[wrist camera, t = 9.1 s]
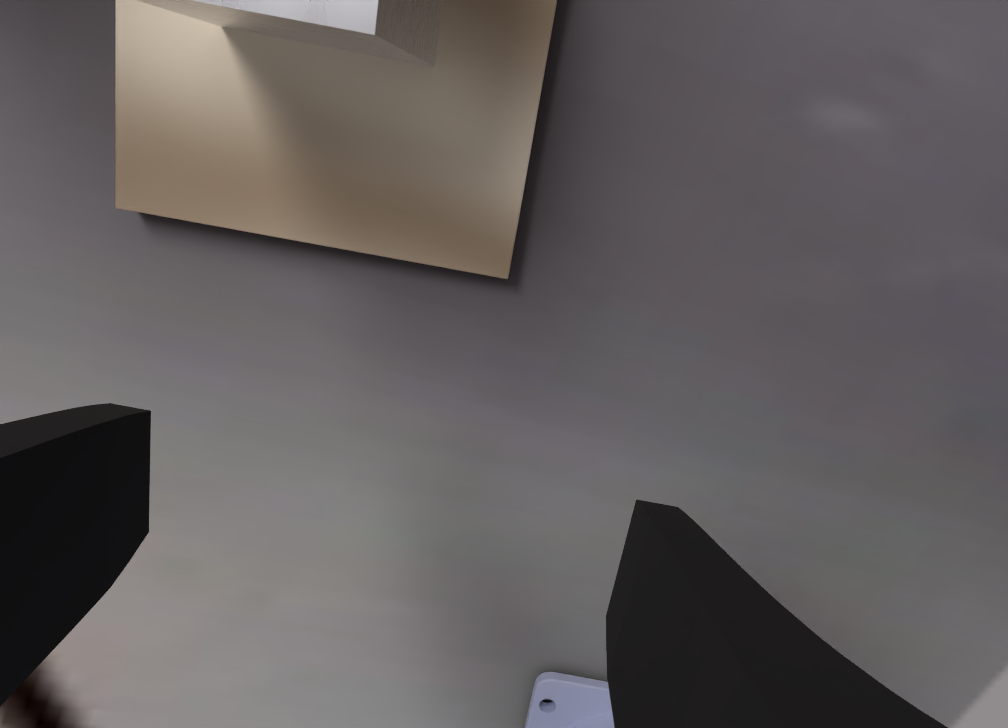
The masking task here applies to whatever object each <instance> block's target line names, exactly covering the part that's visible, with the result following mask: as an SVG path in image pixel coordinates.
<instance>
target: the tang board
mask: <svg viewBox="0 0 1008 728" xmlns="http://www.w3.org/2000/svg"><path fill="white" fill-rule="evenodd" d="M556 6H557V0H443V6H442V13H441V21H440V28H439V35H438V42H437V50H436V57H435V64H434V67H432V66H427V65H422V64H416V63H411V62H406V61H400V60H395V59H390V58H385V57H379V56H374V55H369V54H363V53H358V52H353V51H347V50H342V49H337V48H331V47H326V46H321V45H315V44H310V43H305V42H300V41H294V40H289V39H284V38H278V37H273V36H268V35H262V34H257V33H252V32H246V31H241V30H236V29H230V28H225V27H220V26H217V25H214V24H211V23H207V22H204V21H201V20H198V19H195V18H191V17H188V16H185V15H182V14H178V13H175V12H172V11H169V10H166V9H162V8H159V7H156V6H153V5H149V4H146V3H143V2H140V1H137V0H116V208H119V209H125V210H130V211H136V212H141V213H147V214H152V215H158V216H163V217H169V218H174V219H180V220H185V221H191V222H196V223H202V224H207V225H213V226H218V227H224V228H229V229H235V230H240V231H246V232H251V233H257V234H262V235H268V236H273V237H279V238H284V239H290V240H295V241H301V242H306V243H312V244H317V245H323V246H328V247H334V248H339V249H345V250H350V251H356V252H361V253H367V254H372V255H378V256H383V257H389V258H394V259H400V260H405V261H411V262H416V263H422V264H427V265H433V266H438V267H444V268H449V269H455V270H460V271H466V272H471V273H477V274H482V275H488V276H493V277H499V278H504V279H508V276H509V272H510V267H511V261H512V255H513V250H514V244H515V238H516V233H517V227H518V221H519V216H520V210H521V204H522V199H523V193H524V187H525V182H526V176H527V170H528V165H529V159H530V153H531V148H532V142H533V136H534V131H535V125H536V119H537V114H538V108H539V102H540V97H541V91H542V85H543V80H544V74H545V68H546V63H547V57H548V51H549V46H550V40H551V34H552V29H553V23H554V17H555V12H556Z"/></svg>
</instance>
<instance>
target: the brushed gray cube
mask: <svg viewBox="0 0 1008 728" xmlns="http://www.w3.org/2000/svg"><path fill="white" fill-rule="evenodd" d="M137 1H140V2H143V3H146V4H149V5H153V6H156V7H159V8H162V9H166V10H169V11H172V12H175V13H178V14H182V15H185V16H188V17H191V18H195V19H198V20H201V21H204V22H207V23H211V24H214V25H217V26H220V27H225V28H230V29H236V30H241V31H246V32H252V33H257V34H262V35H268V36H273V37H278V38H284V39H289V40H294V41H300V42H305V43H310V44H315V45H321V46H326V47H331V48H337V49H342V50H347V51H353V52H358V53H363V54H369V55H374V56H379V57H385V58H390V59H395V60H400V61H406V62H411V63H416V64H422V65H427V66H432V67H434V64H435V57H436V50H437V42H438V35H439V28H440V21H441V13H442V6H443V0H137Z"/></svg>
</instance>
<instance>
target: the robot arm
mask: <svg viewBox="0 0 1008 728" xmlns="http://www.w3.org/2000/svg"><path fill="white" fill-rule="evenodd" d="M150 427H151V411H149V410H143V409H138V408H132V407H127V406H121V405H116V404H111V403H109V404H98V405H90V406H84V407H78V408H72V409H67V410H62V411H58V412H53V413H48V414H44V415H39V416H35V417H30V418H26V419H22V420H17V421H13V422H9V423H4V424H0V706H1V705H2V704H3V703H4V702H5V701H6V700H7V698H8V697H9V696H10V695H11V694H12V693H13V692H14V691H15V690H16V689H17V688H18V687H19V686H20V685H21V684H22V682H23V681H24V680H25V679H26V678H27V677H28V676H29V675H30V674H31V673H32V672H33V671H34V670H35V669H36V668H37V666H38V665H39V664H40V663H41V662H42V661H43V660H44V659H45V658H46V657H47V656H48V655H49V654H50V653H51V652H52V650H53V649H54V648H55V647H56V646H57V645H58V644H59V643H60V642H61V641H62V640H63V639H64V638H65V637H66V636H67V634H68V633H69V632H70V631H71V630H72V629H73V628H74V627H75V626H76V625H77V624H78V623H79V621H80V620H81V619H82V618H83V617H84V616H85V615H86V614H87V613H88V612H89V611H90V609H91V608H92V607H93V606H94V605H95V604H96V603H97V602H98V601H99V600H100V598H101V597H102V596H103V595H104V594H105V593H106V592H107V591H108V589H109V588H110V587H111V586H112V584H113V583H114V582H115V580H116V579H117V578H118V576H119V575H120V573H121V572H122V571H123V569H124V568H125V567H126V565H127V564H128V562H129V561H130V559H131V558H132V556H133V555H134V553H135V552H136V550H137V549H138V547H139V546H140V544H141V543H142V541H143V540H144V538H145V537H146V535H147V534H148V532H149V485H150ZM606 650H607V679H608V682H606V681H600V680H595V679H589V678H584V677H578V676H573V675H568V674H562V673H557V672H545V673H542V674H540V675H539V676H538V677H537V678H536V680H535V683H534V687H533V692H532V696H531V700H530V705H529V709H528V713H527V718H526V722H525V726H524V728H947V727H946V726H944V725H943V724H941V723H940V722H938V721H936V720H935V719H933V718H932V717H930V716H928V715H927V714H925V713H924V712H922V711H920V710H919V709H917V708H916V707H914V706H913V705H911V704H910V703H908V702H907V701H905V700H904V699H902V698H901V697H900V696H898V695H897V694H895V693H894V692H892V691H891V690H889V689H888V688H886V687H885V686H884V685H882V684H881V683H879V682H878V681H877V680H875V679H874V678H873V677H871V676H870V675H869V674H867V673H866V672H865V671H863V670H862V669H860V668H859V667H858V666H856V665H855V664H854V663H852V662H851V661H850V660H848V659H847V658H845V657H844V656H843V655H841V654H840V653H839V652H837V651H836V650H835V649H834V648H832V647H831V646H830V645H829V644H827V643H826V642H825V641H824V640H822V639H821V638H820V637H819V636H817V635H816V634H815V633H814V632H813V631H811V630H810V629H809V628H808V627H807V626H806V625H804V624H803V623H802V622H801V621H800V620H799V619H797V618H796V617H795V616H794V615H793V614H792V613H790V612H789V611H788V610H787V609H786V608H785V607H783V606H782V605H781V604H780V603H779V602H778V601H777V600H776V599H774V598H773V597H772V596H771V595H770V594H769V593H768V592H767V591H766V590H765V589H764V588H762V587H761V586H760V585H759V584H758V583H757V582H756V581H755V580H754V579H753V578H752V577H751V576H750V575H749V574H748V573H747V572H746V571H745V570H743V569H742V568H741V567H740V566H739V565H738V564H737V563H736V562H735V561H734V560H733V559H732V558H731V557H730V556H729V555H728V554H727V553H726V552H725V551H724V550H723V549H722V548H721V547H720V546H719V545H718V544H717V543H716V542H715V541H714V540H713V539H712V538H711V537H710V536H709V535H708V534H707V533H706V532H705V531H704V530H703V529H702V528H701V527H700V526H699V525H698V524H697V523H696V522H694V521H693V520H692V519H691V518H690V517H689V516H688V515H687V514H686V513H685V512H683V511H682V510H681V509H679V508H678V507H674V506H669V505H663V504H658V503H652V502H647V501H641V500H636V503H635V507H634V511H633V514H632V518H631V522H630V526H629V530H628V534H627V537H626V541H625V545H624V549H623V553H622V557H621V561H620V564H619V568H618V572H617V576H616V580H615V584H614V588H613V591H612V595H611V599H610V603H609V607H608V611H607V615H606ZM544 699H550V700H553V702H551V703H545V702H542V700H544Z"/></svg>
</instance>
